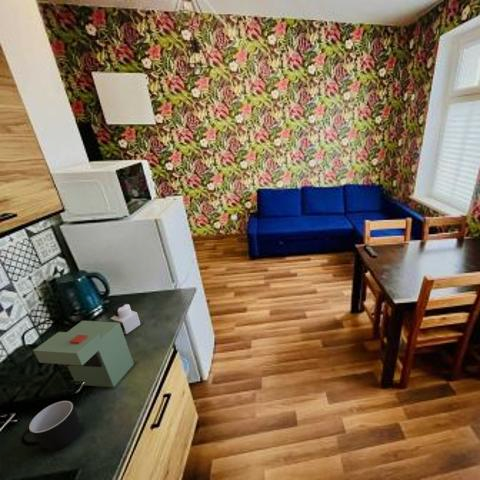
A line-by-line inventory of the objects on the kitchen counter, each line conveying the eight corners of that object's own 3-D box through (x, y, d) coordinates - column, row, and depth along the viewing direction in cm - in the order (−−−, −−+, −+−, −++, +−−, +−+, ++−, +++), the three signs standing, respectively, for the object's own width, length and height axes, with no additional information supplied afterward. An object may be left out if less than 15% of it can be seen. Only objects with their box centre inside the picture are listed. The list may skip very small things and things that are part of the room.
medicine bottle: (114, 331, 119) (106, 309, 114) (129, 321, 125) (122, 299, 120) (126, 334, 117) (118, 312, 112) (141, 324, 123) (134, 302, 118)
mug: (86, 417, 83) (75, 395, 79) (81, 444, 76) (69, 421, 72) (34, 439, 77) (19, 416, 74) (23, 470, 70) (6, 446, 67)
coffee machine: (59, 400, 88) (31, 348, 80) (99, 361, 103) (79, 314, 94) (99, 403, 88) (75, 351, 79) (134, 364, 102) (117, 316, 93)
